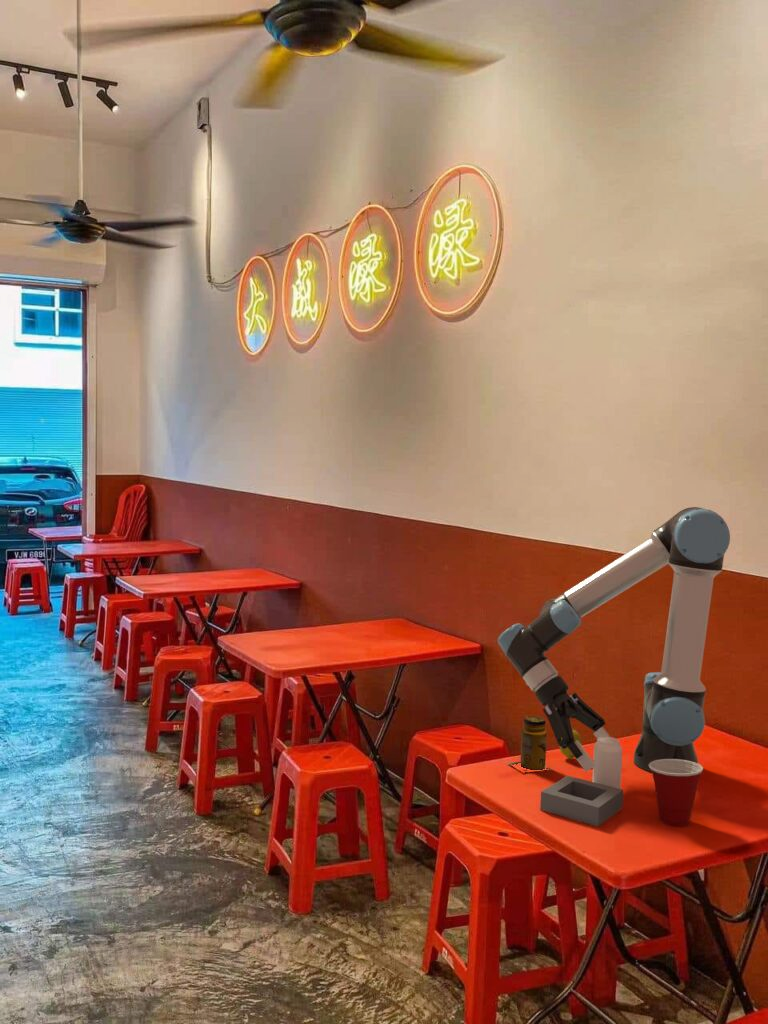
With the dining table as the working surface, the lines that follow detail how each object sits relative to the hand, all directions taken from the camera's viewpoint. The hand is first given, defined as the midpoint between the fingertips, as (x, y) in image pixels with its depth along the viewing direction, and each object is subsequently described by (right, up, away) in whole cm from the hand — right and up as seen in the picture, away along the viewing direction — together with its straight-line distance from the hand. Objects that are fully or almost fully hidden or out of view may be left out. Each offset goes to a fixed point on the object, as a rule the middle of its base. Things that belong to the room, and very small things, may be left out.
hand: (603, 761), depth 198 cm
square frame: (-7, -7, -10) cm, 14 cm away
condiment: (-14, -6, +15) cm, 22 cm away
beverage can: (+1, -7, 0) cm, 7 cm away
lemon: (-3, -6, +22) cm, 23 cm away
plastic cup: (+11, -8, -15) cm, 20 cm away
